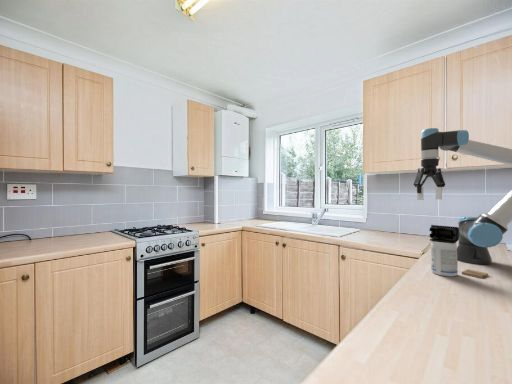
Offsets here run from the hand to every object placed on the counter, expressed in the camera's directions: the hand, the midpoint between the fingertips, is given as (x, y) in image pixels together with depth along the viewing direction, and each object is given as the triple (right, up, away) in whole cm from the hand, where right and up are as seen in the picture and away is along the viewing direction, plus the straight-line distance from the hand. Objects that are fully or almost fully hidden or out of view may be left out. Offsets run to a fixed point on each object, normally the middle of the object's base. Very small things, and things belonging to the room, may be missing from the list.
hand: (429, 199), depth 133 cm
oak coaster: (+6, -33, -20) cm, 39 cm away
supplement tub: (-6, -33, -18) cm, 38 cm away
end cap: (-6, -18, -18) cm, 26 cm away
